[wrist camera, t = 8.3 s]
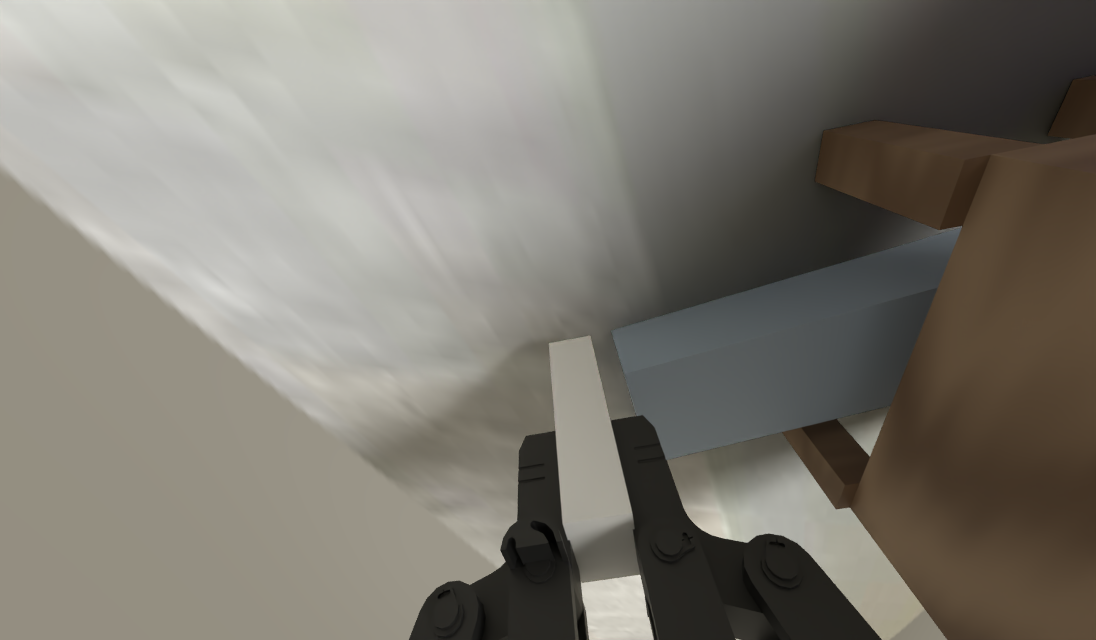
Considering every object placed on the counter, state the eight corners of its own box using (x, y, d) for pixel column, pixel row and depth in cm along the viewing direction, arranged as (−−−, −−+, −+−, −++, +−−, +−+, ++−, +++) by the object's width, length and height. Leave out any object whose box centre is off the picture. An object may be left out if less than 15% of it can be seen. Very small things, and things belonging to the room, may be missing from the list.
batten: (609, 324, 16) (624, 373, 13) (1026, 201, 14) (1139, 231, 11) (634, 409, 18) (651, 463, 16) (987, 316, 16) (1072, 361, 14)
